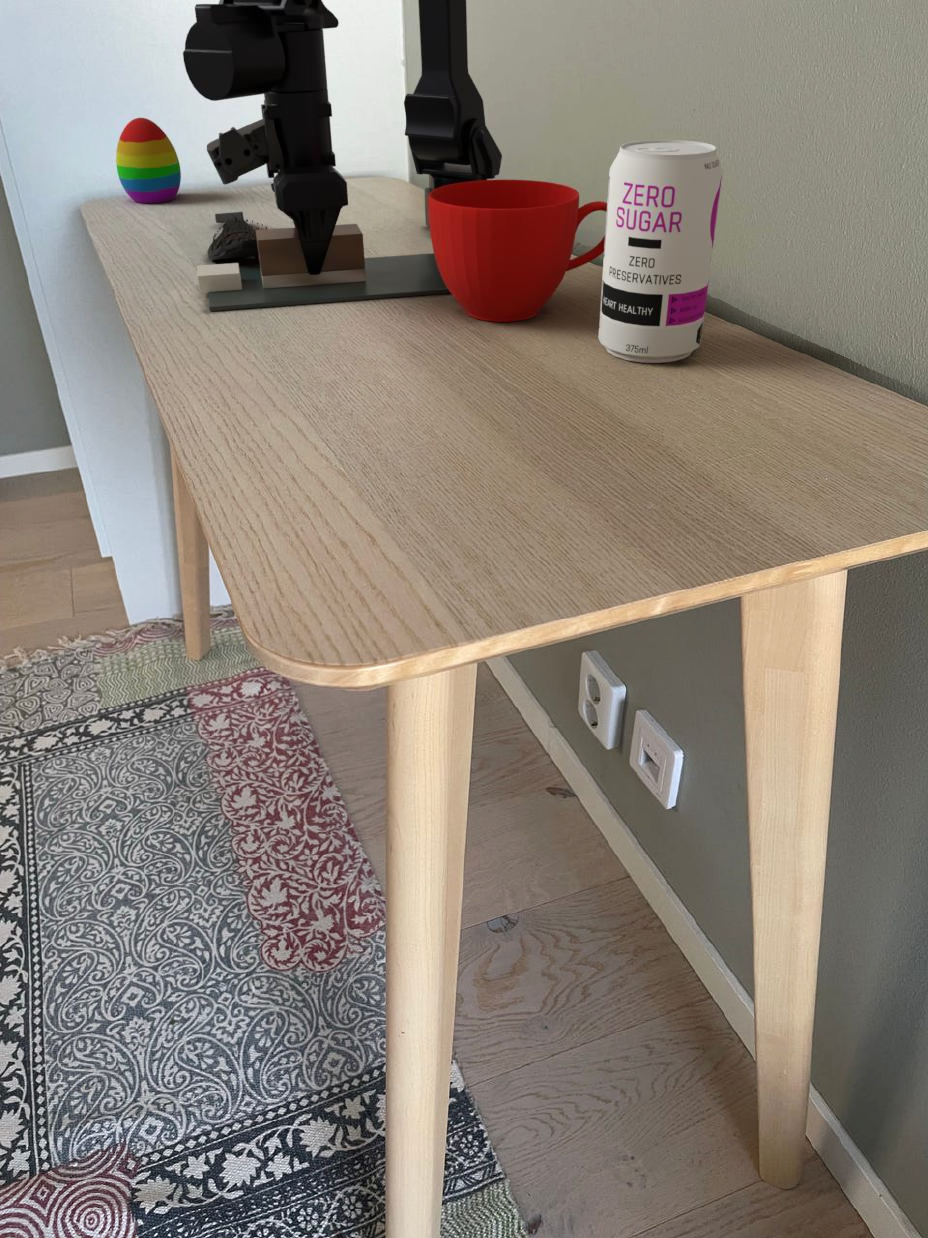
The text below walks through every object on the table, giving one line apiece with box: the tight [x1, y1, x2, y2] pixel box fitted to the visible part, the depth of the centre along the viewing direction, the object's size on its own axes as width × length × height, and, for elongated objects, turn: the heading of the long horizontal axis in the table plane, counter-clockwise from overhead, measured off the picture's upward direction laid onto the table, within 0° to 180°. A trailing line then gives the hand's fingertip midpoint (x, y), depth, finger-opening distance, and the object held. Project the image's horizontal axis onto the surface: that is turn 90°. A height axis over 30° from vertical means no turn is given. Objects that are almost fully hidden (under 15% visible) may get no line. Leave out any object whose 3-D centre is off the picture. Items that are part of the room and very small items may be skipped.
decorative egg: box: [115, 117, 182, 204], centre depth 130 cm, size 8×8×10 cm
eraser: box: [255, 223, 366, 289], centre depth 96 cm, size 10×4×4 cm, turn 102°
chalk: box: [196, 262, 242, 294], centre depth 95 cm, size 4×4×2 cm
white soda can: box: [597, 139, 724, 364], centre depth 75 cm, size 8×8×15 cm
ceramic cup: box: [428, 179, 607, 323], centre depth 86 cm, size 13×17×10 cm
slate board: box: [208, 252, 451, 312], centre depth 97 cm, size 24×14×1 cm, turn 103°
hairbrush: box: [207, 211, 268, 261], centre depth 110 cm, size 8×4×25 cm
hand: (312, 267), depth 96 cm, fingers closed on eraser, 4 cm apart
